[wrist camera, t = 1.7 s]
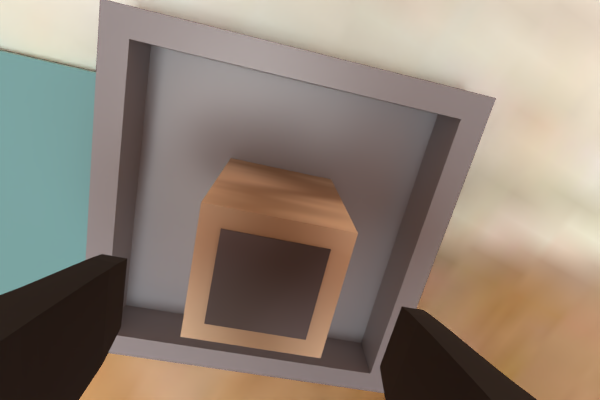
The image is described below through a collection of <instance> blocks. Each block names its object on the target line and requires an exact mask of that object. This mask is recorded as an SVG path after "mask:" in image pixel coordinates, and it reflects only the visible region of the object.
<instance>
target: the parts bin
mask: <svg viewBox="0 0 600 400" xmlns="http://www.w3.org/2000/svg"><path fill="white" fill-rule="evenodd" d="M495 99H496V98H493V97H489V96H485V95H481V94H477V93H473V92H469V91H465V90H462V89H458V88H454V87H450V86H446V85H442V84H438V83H434V82H430V81H426V80H422V79H418V78H414V77H410V76H406V75H402V74H398V73H394V72H390V71H386V70H382V69H378V68H374V67H370V66H366V65H362V64H358V63H354V62H350V61H346V60H342V59H339V58H335V57H331V56H327V55H323V54H319V53H315V52H311V51H307V50H303V49H299V48H295V47H291V46H287V45H283V44H279V43H275V42H271V41H267V40H263V39H259V38H255V37H251V36H247V35H243V34H239V33H235V32H231V31H227V30H223V29H219V28H216V27H212V26H208V25H204V24H200V23H196V22H192V21H188V20H184V19H180V18H176V17H172V16H168V15H164V14H160V13H156V12H152V11H148V10H144V9H140V8H136V7H132V6H128V5H124V4H120V3H116V2H112V1H108V0H100V9H99V27H98V45H97V63H96V81H95V99H94V117H93V135H92V153H91V171H90V189H89V207H88V225H87V244H86V260H87V259H89V258H92V257H95V256H98V255H101V254H105V255H110V256H116V257H122V258H127V268H126V279H125V290H124V301H123V312H122V322H121V328H120V330H119V332H118V334H117V336H116V338H115V340H114V342H113V344H112V346H111V348H110V350H109V352H108V353H112V354H119V355H126V356H133V357H140V358H147V359H154V360H160V361H167V362H174V363H181V364H188V365H195V366H202V367H208V368H215V369H222V370H229V371H236V372H243V373H250V374H256V375H263V376H270V377H277V378H284V379H291V380H298V381H304V382H311V383H318V384H325V385H332V386H339V387H346V388H352V389H359V390H366V391H373V392H380V393H384V389H383V384H382V378H381V372H380V364H381V362H382V359H383V356H384V353H385V351H386V348H387V345H388V342H389V340H390V337H391V334H392V331H393V329H394V326H395V323H396V321H397V318H398V315H399V312H400V310H401V307H402V306H403V307H408V308H414V309H416V308H417V305H418V303H419V300H420V298H421V295H422V292H423V290H424V287H425V284H426V282H427V279H428V276H429V274H430V271H431V268H432V266H433V263H434V261H435V258H436V255H437V253H438V250H439V247H440V245H441V242H442V239H443V237H444V234H445V231H446V229H447V226H448V223H449V221H450V218H451V216H452V213H453V210H454V208H455V205H456V202H457V200H458V197H459V194H460V192H461V189H462V186H463V184H464V181H465V179H466V176H467V173H468V171H469V168H470V165H471V163H472V160H473V157H474V155H475V152H476V149H477V147H478V144H479V142H480V139H481V136H482V134H483V131H484V128H485V126H486V123H487V120H488V118H489V115H490V112H491V110H492V107H493V105H494V102H495ZM231 158H232V159H237V160H242V161H247V162H251V163H256V164H261V165H265V166H270V167H275V168H280V169H284V170H289V171H294V172H298V173H303V174H308V175H313V176H317V177H322V178H327V179H331V180H332V182H333V184H334V186H335V188H336V190H337V192H338V194H339V196H340V198H341V200H342V202H343V204H344V206H345V208H346V210H347V212H348V214H349V216H350V218H351V220H352V222H353V224H354V226H355V228H356V230H357V232H358V235H357V239H356V242H355V245H354V249H353V252H352V255H351V259H350V262H349V265H348V269H347V272H346V275H345V279H344V282H343V285H342V289H341V292H340V295H339V299H338V302H337V305H336V309H335V312H334V315H333V319H332V322H331V325H330V329H329V332H328V335H327V339H326V342H325V345H324V349H323V352H322V355H321V358H315V357H309V356H302V355H296V354H289V353H283V352H276V351H270V350H263V349H257V348H250V347H244V346H237V345H231V344H224V343H218V342H211V341H205V340H198V339H192V338H185V337H180V336H181V330H182V323H183V317H184V310H185V304H186V297H187V291H188V284H189V278H190V271H191V265H192V258H193V252H194V245H195V239H196V232H197V226H198V219H199V213H200V206H201V202H202V200H203V199H204V197H205V196H206V194H207V193H208V191H209V190H210V188H211V187H212V185H213V184H214V182H215V181H216V179H217V178H218V176H219V175H220V173H221V172H222V170H223V169H224V167H225V166H226V164H227V163H228V162H229V160H230V159H231Z"/></svg>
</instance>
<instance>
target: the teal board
mask: <svg viewBox="0 0 600 400" xmlns="http://www.w3.org/2000/svg"><path fill="white" fill-rule="evenodd" d="M95 81H96V72H95V71H90V70H86V69H82V68H77V67H73V66H69V65H64V64H60V63H56V62H51V61H47V60H43V59H38V58H34V57H30V56H25V55H21V54H16V53H12V52H8V51H3V50H0V295H1V294H4V293H7V292H9V291H12V290H15V289H17V288H20V287H22V286H25V285H27V284H30V283H32V282H34V281H37V280H39V279H42V278H44V277H46V276H49V275H51V274H54V273H56V272H58V271H61V270H63V269H65V268H68V267H70V266H72V265H75V264H77V263H80V262H82V261H84V260H86V244H87V225H88V207H89V189H90V171H91V153H92V135H93V117H94V99H95Z"/></svg>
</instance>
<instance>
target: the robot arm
mask: <svg viewBox="0 0 600 400" xmlns="http://www.w3.org/2000/svg"><path fill="white" fill-rule="evenodd" d="M126 268H127V258H122V257H116V256H110V255H105V254H101V255H98V256H95V257H92V258H89V259H87V260H84V261H82V262H80V263H77V264H75V265H72V266H70V267H68V268H65V269H63V270H61V271H58V272H56V273H54V274H51V275H49V276H46V277H44V278H42V279H39V280H37V281H34V282H32V283H30V284H27V285H25V286H22V287H20V288H17V289H15V290H12V291H9V292H7V293H4V294H1V295H0V400H79V398H80V397H81V396H82V394H83V393H84V391H85V390H86V388H87V387H88V385H89V384H90V382H91V381H92V379H93V378H94V376H95V375H96V373H97V371H98V370H99V368H100V367H101V365H102V364H103V362H104V360H105V358H106V356H107V354H108V352H109V350H110V348H111V346H112V344H113V342H114V340H115V338H116V336H117V334H118V332H119V330H120V328H121V322H122V312H123V301H124V290H125V279H126ZM380 372H381V378H382V384H383V389H384V394H385V399H386V400H537V399H535V398H534V397H533V396H531V395H530V394H529V393H527V392H526V391H525V390H523V389H522V388H521V387H519V386H518V385H517V384H515V383H514V382H513V381H511V380H510V379H509V378H508V377H506V376H505V375H504V374H503V373H501V372H500V371H499V370H498V369H496V368H495V367H494V366H493V365H491V364H490V363H489V362H488V361H486V360H485V359H484V358H483V357H482V356H480V355H479V354H478V353H477V352H475V351H474V350H473V349H472V348H471V347H469V346H468V345H467V344H466V343H465V342H463V341H462V340H461V339H460V338H459V337H457V336H456V335H455V334H454V333H453V332H451V331H450V330H449V329H448V328H446V327H445V326H444V325H443V324H441V323H440V322H439V321H438V320H436V319H435V318H434V317H432V316H431V315H430V314H428V313H427V312H425V311H424V310H420V309H414V308H408V307H403V306H402V307H401V310H400V312H399V315H398V318H397V321H396V323H395V326H394V329H393V331H392V334H391V337H390V340H389V342H388V345H387V348H386V351H385V353H384V356H383V359H382V362H381V364H380Z"/></svg>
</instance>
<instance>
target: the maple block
mask: <svg viewBox="0 0 600 400" xmlns="http://www.w3.org/2000/svg"><path fill="white" fill-rule="evenodd" d="M357 235H358V232H357V230H356V228H355V226H354V224H353V222H352V220H351V218H350V216H349V214H348V212H347V210H346V208H345V206H344V204H343V202H342V200H341V198H340V196H339V194H338V192H337V190H336V188H335V186H334V184H333V182H332V180H331V179H327V178H322V177H317V176H313V175H308V174H303V173H298V172H294V171H289V170H284V169H280V168H275V167H270V166H265V165H261V164H256V163H251V162H247V161H242V160H237V159H232V158H231V159H230V160H229V162H228V163H227V164H226V166H225V167H224V169H223V170H222V172H221V173H220V175H219V176H218V178H217V179H216V181H215V182H214V184H213V185H212V187H211V188H210V190H209V191H208V193H207V194H206V196H205V197H204V199H203V200H202V202H201V206H200V213H199V219H198V226H197V232H196V239H195V245H194V252H193V258H192V265H191V271H190V278H189V284H188V291H187V297H186V304H185V310H184V317H183V323H182V330H181V336H180V337H185V338H192V339H198V340H205V341H211V342H218V343H224V344H231V345H237V346H244V347H250V348H257V349H263V350H270V351H276V352H283V353H289V354H296V355H302V356H309V357H315V358H321V355H322V352H323V349H324V345H325V342H326V339H327V335H328V332H329V329H330V325H331V322H332V319H333V315H334V312H335V309H336V305H337V302H338V299H339V295H340V292H341V289H342V285H343V282H344V279H345V275H346V272H347V269H348V265H349V262H350V259H351V255H352V252H353V249H354V245H355V242H356V239H357Z"/></svg>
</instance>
